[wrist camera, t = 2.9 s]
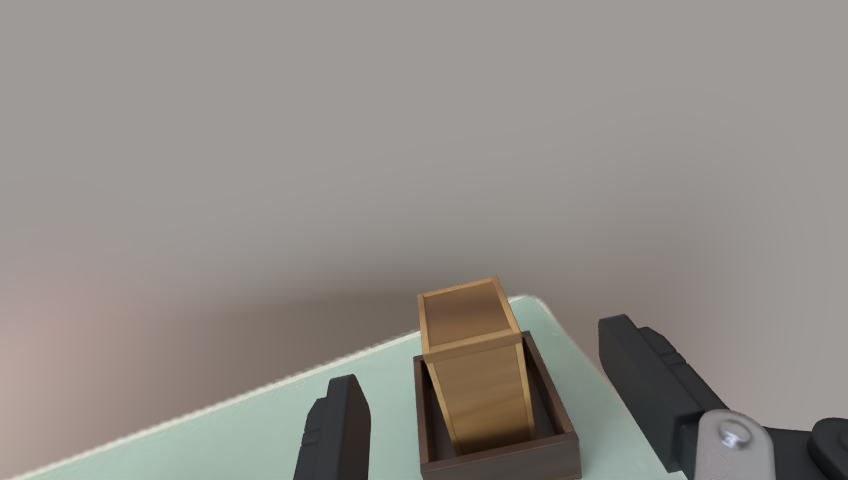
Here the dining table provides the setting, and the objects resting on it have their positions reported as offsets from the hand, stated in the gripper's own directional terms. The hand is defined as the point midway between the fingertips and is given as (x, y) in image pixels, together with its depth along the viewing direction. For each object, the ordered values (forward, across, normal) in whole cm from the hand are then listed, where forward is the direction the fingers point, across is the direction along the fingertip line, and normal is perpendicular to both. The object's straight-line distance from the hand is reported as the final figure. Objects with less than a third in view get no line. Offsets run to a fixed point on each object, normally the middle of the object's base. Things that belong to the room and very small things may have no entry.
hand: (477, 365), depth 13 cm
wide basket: (+10, 0, +18) cm, 20 cm away
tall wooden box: (+10, 0, +17) cm, 20 cm away
